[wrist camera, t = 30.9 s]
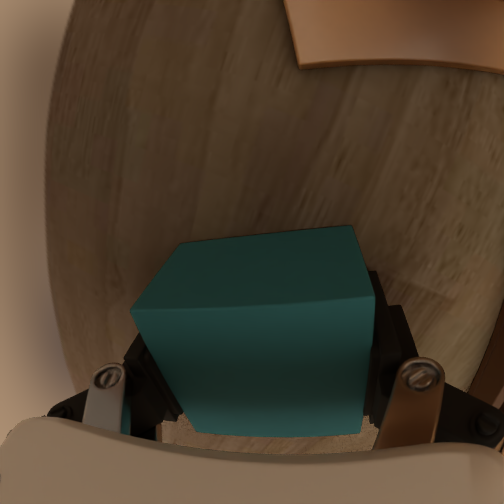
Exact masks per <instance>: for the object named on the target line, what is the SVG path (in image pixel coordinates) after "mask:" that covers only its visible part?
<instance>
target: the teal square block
mask: <svg viewBox="0 0 504 504" xmlns="http://www.w3.org/2000/svg"><path fill="white" fill-rule="evenodd" d="M130 313H131V315H132V317H133V320H134V322H135V324H136V326H137V328H138V330H139V332H140V334H141V336H142V338H143V340H144V342H145V344H146V346H147V348H148V350H149V352H150V353H151V355H152V356H153V358H154V360H155V362H156V364H157V366H158V368H159V369H160V371H161V373H162V375H163V377H164V378H165V380H166V382H167V384H168V386H169V387H170V389H171V391H172V392H173V394H174V396H175V398H176V399H177V401H178V403H179V404H180V406H181V408H182V409H183V411H184V413H185V415H186V416H187V418H188V419H189V421H190V423H191V424H192V426H193V427H194V429H195V430H196V432H201V433H211V434H221V435H235V436H253V437H315V436H334V435H346V434H357V433H360V431H361V426H362V420H363V408H364V401H365V394H366V387H367V379H368V370H369V361H370V350H371V347H372V342H373V330H374V316H375V294H374V291H373V287H372V284H371V281H370V278H369V274H368V271H367V268H366V265H365V262H364V259H363V256H362V253H361V250H360V247H359V244H358V241H357V238H356V236H355V233H354V230H353V227H352V226H351V225H348V226H338V227H328V228H318V229H308V230H298V231H288V232H279V233H269V234H260V235H251V236H242V237H233V238H224V239H215V240H206V241H198V242H189V243H181V244H180V245H179V246H178V247H177V248H176V250H175V251H174V252H173V253H172V255H171V256H170V257H169V258H168V260H167V261H166V262H165V264H164V265H163V266H162V268H161V269H160V270H159V271H158V273H157V274H156V275H155V277H154V278H153V279H152V281H151V282H150V283H149V285H148V286H147V287H146V289H145V290H144V291H143V293H142V294H141V295H140V297H139V298H138V299H137V301H136V302H135V303H134V305H133V306H132V307H131V309H130Z"/></svg>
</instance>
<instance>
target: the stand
mask: <svg viewBox="0 0 504 504" xmlns="http://www.w3.org/2000/svg"><path fill="white" fill-rule="evenodd" d="M283 3H284V7H285V11H286V15H287V19H288V23H289V27H290V32H291V36H292V41H293V45H294V50H295V55H296V59H297V64H298V68H299V70H306V69H315V68H325V67H338V66H354V65H424V66H440V67H451V68H461V69H469V70H477V71H484V72H490V73H496V74H502V75H504V0H283Z"/></svg>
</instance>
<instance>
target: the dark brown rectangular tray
mask: <svg viewBox="0 0 504 504" xmlns="http://www.w3.org/2000/svg"><path fill="white" fill-rule="evenodd" d="M468 394H470V395H472V396H474V397H476V398H478V399H480V400H482V401H484V402H486V403H488V404H490V405H492V406H494V407H496V408H497V409H499V410H500V411H501V412H502V413H503V414H504V302H503V305H502V308H501V312H500V315H499V318H498V321H497V324H496V327H495V330H494V332H493V335H492V338H491V341H490V343H489V346H488V348H487V351H486V353H485V356H484V358H483V361H482V363H481V365H480V368H479V370H478V372H477V374H476V377H475V379H474V381H473V383H472V385H471V387H470V389H469V391H468Z"/></svg>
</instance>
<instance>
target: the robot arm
mask: <svg viewBox="0 0 504 504" xmlns="http://www.w3.org/2000/svg"><path fill="white" fill-rule="evenodd" d="M368 274H369V278H370V281H371V284H372V287H373V291H374V294H375V316H374V330H373V342H372V347H371V350H370V361H369V370H368V379H367V387H366V394H365V401H364V408H363V415H364V416H367V415H369V420H370V424H373V423H374V426H375V427H377V428H378V429H379V432H378V435H377V438H376V440H375V443H374V446H373V448H372V450H370V451H359V452H346V453H331V454H303V455H282V454H254V453H238V452H227V451H217V450H208V449H200V448H193V447H186V446H179V445H173V444H168V443H162V426H161V423H162V422H163V420H167V421H173V422H176V421H177V419H178V416H179V415H181V414H182V413H183V412H184V411H183V409H182V408H181V406H180V404H179V403H178V401H177V399H176V398H175V396H174V394H173V392H172V391H171V389H170V387H169V386H168V384H167V382H166V380H165V378H164V377H163V375H162V373H161V371H160V369H159V368H158V366H157V364H156V362H155V360H154V358H153V356H152V355H151V353H150V352H149V350H148V348H147V346H146V344H145V342H144V340H143V338H142V336H141V334H140V332H139V333H138V335H137V337H136V338H135V340H134V341H133V343H132V345H131V346H130V348H129V349H128V351H127V353H126V354H125V356H124V360H125V361H124V363H123V364H122V365H121V364H119V363H109V364H106V365H103V366H102V367H100V368H99V369H98V370H96V371H95V373H94V374H93V375H92V378H91V381H90V385H89V389H87V390H85V391H83V392H81V393H79V394H77V395H75V396H73V397H71V398H68V399H66V400H64V401H62V402H60V403H58V404H56V405H55V406H53V407H52V408H51V409H50V411H49V412H48V414H47V417H46V416H45V415H44V416H42V417H34V418H29V419H26V420H23V421H21V422H20V423H18V424H17V425H16V426H15V427H14V428H13V429H12V430H11V431H10V432H9V433H8V435H7V437H6V439H5V441H4V442H3V444H2V445H1V447H0V504H504V414H503V413H502V412H501V411H500V410H499V409H497V408H496V407H494V406H492V405H490V404H488V403H486V402H484V401H482V400H480V399H478V398H476V397H474V396H472V395H470V394H468V393H466V392H463V391H461V390H459V389H457V388H455V387H453V386H451V385H449V384H447V383H445V372H444V370H443V368H442V366H441V365H440V364H439V363H438V362H436V361H434V360H433V359H430V358H426V357H419V355H418V352H417V349H416V346H415V343H414V340H413V337H412V334H411V331H410V329H409V326H408V323H407V320H406V317H405V315H404V312H403V309H402V307H401V305H392V306H388V304H387V301H386V298H385V295H384V292H383V289H382V287H381V284H380V281H379V278H378V275H377V272H376V271H368Z"/></svg>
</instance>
